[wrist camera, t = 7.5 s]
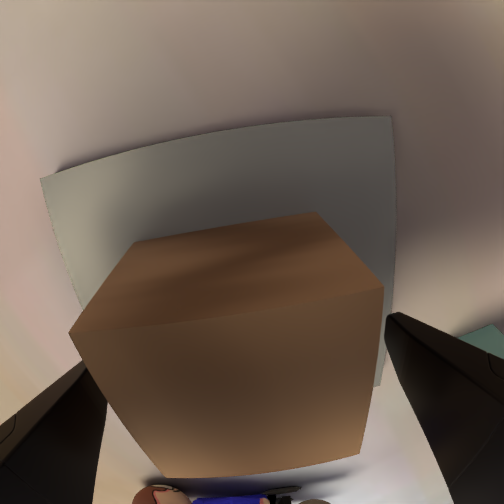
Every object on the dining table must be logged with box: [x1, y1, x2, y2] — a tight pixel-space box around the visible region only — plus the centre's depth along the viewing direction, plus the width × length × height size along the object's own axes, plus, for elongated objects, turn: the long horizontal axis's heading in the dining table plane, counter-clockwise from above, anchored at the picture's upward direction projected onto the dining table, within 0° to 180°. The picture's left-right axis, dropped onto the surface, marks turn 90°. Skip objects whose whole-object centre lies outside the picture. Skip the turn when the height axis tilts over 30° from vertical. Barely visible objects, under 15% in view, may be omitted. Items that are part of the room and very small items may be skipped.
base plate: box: [40, 116, 396, 387], centre depth 11 cm, size 12×12×1 cm
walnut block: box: [69, 212, 384, 478], centre depth 9 cm, size 6×6×5 cm
